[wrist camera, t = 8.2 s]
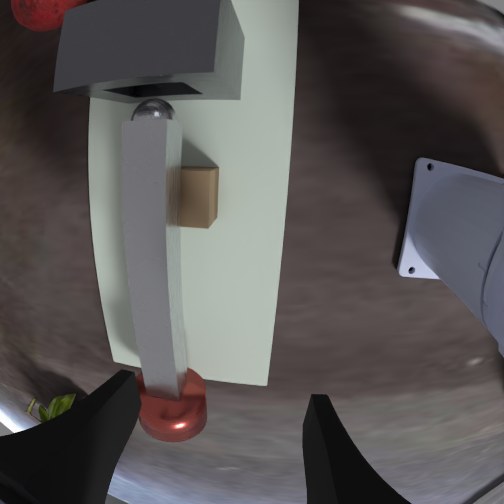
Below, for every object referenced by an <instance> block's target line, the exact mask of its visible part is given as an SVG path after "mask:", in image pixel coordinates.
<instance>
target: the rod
mask: <svg viewBox="0 0 504 504" xmlns="http://www.w3.org/2000/svg"><path fill="white" fill-rule="evenodd" d="M182 126H183V122H182V121H177V116H176V112H175V110H174V108H173V107H172V106H171V105H170V104H169V103H168V102H166V101H164V100H162V99H149V100H146V101H144V102H142V103H141V104H139V105H138V106H137V107H136V108H135V110H134V112H133V114H132V116H131V121H123V122H122V155H121V173H122V210H123V229H124V244H125V256H126V267H127V276H128V285H129V294H130V301H131V309H132V316H133V323H134V329H135V335H136V341H137V347H138V353H139V358H140V363H141V368H142V372H141V373H140V374H139V375H138V376H137V377H136V381H137V386H138V390H139V394H140V398H141V402H142V406H141V409H140V413H139V416H138V418H139V421H140V424H141V426H142V428H143V429H144V430H145V431H146V432H147V433H148V434H149V435H150V436H152V437H154V438H156V439H158V440H161V441H166V442H180V441H185V440H188V439H191V438H193V437H194V436H196V435H197V434H199V433H200V432H201V431H202V429H203V428H204V426H205V424H206V422H207V405H206V387H205V383H204V380H203V379H202V377H201V376H200V375H199V374H198V373H197V372H195V371H194V370H192V369H190V368H188V367H187V363H186V350H185V336H184V320H183V301H182V276H181V230H180V196H181V150H182Z"/></svg>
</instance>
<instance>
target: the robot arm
mask: <svg viewBox="0 0 504 504" xmlns="http://www.w3.org/2000/svg"><path fill="white" fill-rule="evenodd" d="M429 163H430V164H431V169H430V170H428V169H427V165H428V164H429ZM410 267H413V269H412V271H411V272H408V270H409V268H410ZM397 271H398V273H399V274H400V275H401V276H403V277H417V278H431V279H441V280H442V281H443V282H444V283H445V284H446V285H447V286H448V287H449V288H450V289H451V290H452V291H453V293H454V294H455V295H456V296H457V297H458V298H459V299H460V300H461V301H462V302H463V303H464V304H465V305H466V306H467V307H468V308H469V309H470V311H471V312H472V313H473V314H474V315H475V316H476V317H477V318H478V319H479V320H480V322H481V323H482V324H483V325H484V326H485V327H486V328H487V329H488V330H489V332H490V333H491V334H492V335H493V337H494V338H495V339H496V340H497V341H498V344H499V348H498V351H499V352H500V353H501V355H502V356H503V357H504V179H502V178H499V177H496V176H493V175H489V174H486V173H483V172H479V171H475V170H472V169H468V168H464V167H461V166H457V165H453V164H449V163H445V162H440V161H436V160H432V159H427V158H418V159H417V160H416V163H415V169H414V178H413V185H412V192H411V199H410V205H409V211H408V217H407V223H406V228H405V234H404V239H403V244H402V249H401V253H400V258H399V262H398V267H397ZM141 406H142V402H141V398H140V394H139V390H138V386H137V381H136V377H135V373H134V372H131V371H127V370H123V369H121V370H120V371H119V372H117V373H116V374H115V375H114V376H112V377H111V378H110V379H109V380H107V381H106V382H105V383H104V384H102V385H101V386H100V387H99V388H97V389H96V390H95V391H94V392H92V393H91V394H90V395H88V396H87V397H86V398H84V399H83V400H81V401H80V402H79V403H77V404H76V405H74V406H73V407H71V408H70V409H68V410H67V411H65V412H63V413H62V414H60V415H58V416H56V417H54V418H52V419H50V420H48V421H46V422H44V423H41V424H39V425H37V426H34V427H32V428H29V429H26V430H24V431H20V432H17V433H13V434H10V435H5V436H0V504H105V500H106V496H107V492H108V489H109V485H110V482H111V479H112V476H113V473H114V469H115V467H116V465H117V462H118V460H119V458H120V456H121V454H122V452H123V450H124V447H125V445H126V443H127V441H128V439H129V437H130V435H131V433H132V431H133V429H134V427H135V424H136V422H137V419H138V416H139V413H140V409H141ZM302 447H303V457H304V467H305V476H306V486H307V504H411V503H410V502H409V501H407V500H406V499H405V498H403V497H402V496H401V495H400V494H398V493H397V492H396V491H395V490H394V489H393V488H392V487H391V486H390V485H389V484H387V483H386V482H385V481H384V480H383V479H382V478H381V477H380V476H379V475H378V474H377V472H376V471H375V470H374V469H373V468H372V467H371V466H370V464H369V463H368V462H367V461H366V459H365V458H364V457H363V456H362V454H361V453H360V451H359V450H358V449H357V447H356V446H355V444H354V443H353V441H352V440H351V438H350V436H349V435H348V433H347V431H346V430H345V428H344V426H343V425H342V423H341V421H340V419H339V417H338V415H337V414H336V412H335V410H334V408H333V405H332V403H331V401H330V399H329V397H328V396H327V395H323V394H311V398H310V401H309V405H308V409H307V412H306V416H305V419H304V423H303V446H302Z"/></svg>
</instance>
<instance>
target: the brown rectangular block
mask: <svg viewBox="0 0 504 504" xmlns="http://www.w3.org/2000/svg"><path fill="white" fill-rule="evenodd" d="M218 185H219V167H197V166H181V196H180V227H191V228H205V229H209V227H210V226H211V225H212V224H213V222H214V221H215V220H216V219H217V213H218Z"/></svg>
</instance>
